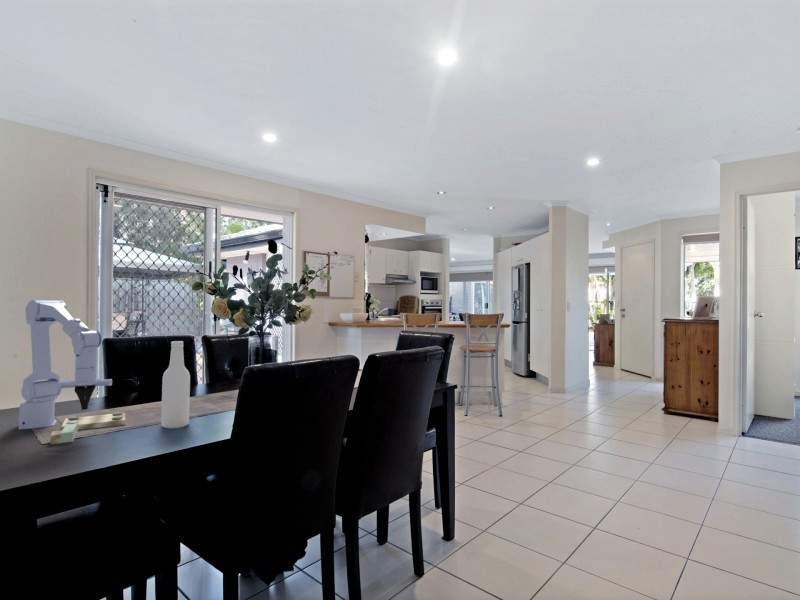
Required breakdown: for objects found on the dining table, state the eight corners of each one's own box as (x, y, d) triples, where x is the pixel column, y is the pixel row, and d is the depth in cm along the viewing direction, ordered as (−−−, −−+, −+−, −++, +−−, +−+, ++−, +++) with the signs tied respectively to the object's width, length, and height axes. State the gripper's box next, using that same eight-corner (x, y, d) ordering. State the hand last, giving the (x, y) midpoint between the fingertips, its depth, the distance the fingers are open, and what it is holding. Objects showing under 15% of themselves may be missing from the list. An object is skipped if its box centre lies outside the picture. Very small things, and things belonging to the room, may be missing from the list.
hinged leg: (66, 431, 144) (67, 421, 145) (78, 429, 146) (78, 420, 146) (60, 443, 132) (60, 432, 132) (73, 441, 134) (73, 431, 134)
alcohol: (156, 429, 150) (158, 342, 150) (168, 422, 158) (170, 340, 159) (182, 429, 150) (184, 342, 151) (193, 422, 159) (195, 340, 159)
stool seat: (50, 445, 131) (50, 435, 131) (61, 424, 153) (61, 416, 154) (125, 436, 141) (125, 426, 141) (125, 417, 164) (125, 409, 164)
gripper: (55, 370, 135) (54, 413, 135) (111, 367, 143) (110, 409, 142) (60, 367, 142) (58, 409, 141) (113, 365, 149) (111, 404, 149)
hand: (84, 408), depth 142 cm, fingers closed
